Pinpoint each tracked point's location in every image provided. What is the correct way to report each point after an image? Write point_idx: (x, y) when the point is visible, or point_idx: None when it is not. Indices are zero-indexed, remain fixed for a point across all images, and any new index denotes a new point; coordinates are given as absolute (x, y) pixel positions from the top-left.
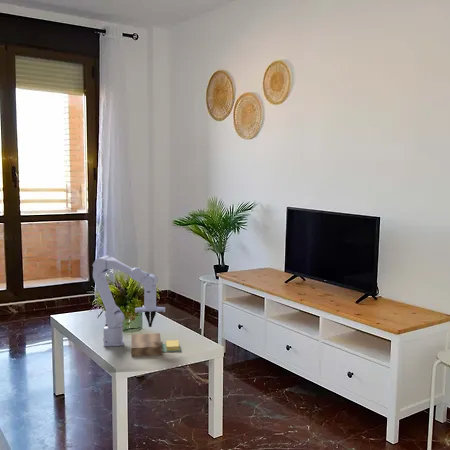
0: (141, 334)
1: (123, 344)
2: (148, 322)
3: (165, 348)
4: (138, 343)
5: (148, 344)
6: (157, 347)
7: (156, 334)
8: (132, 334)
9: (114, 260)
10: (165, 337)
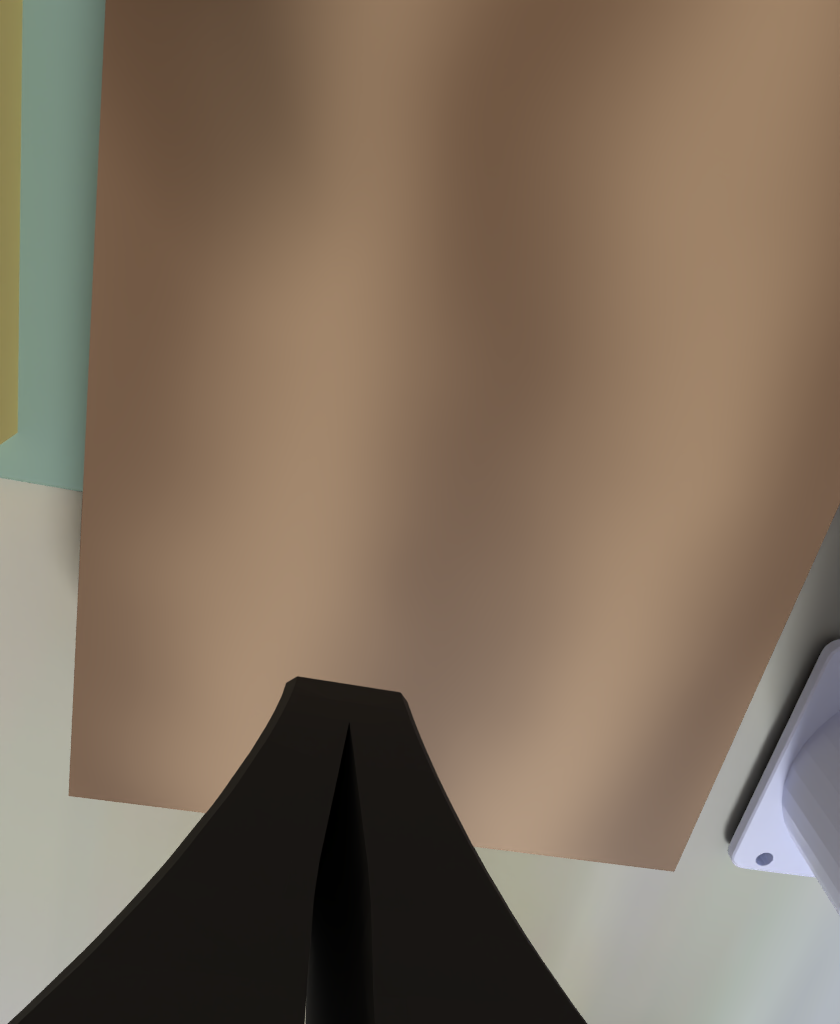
0: (485, 824)
1: (813, 672)
2: (445, 822)
3: (44, 164)
4: (764, 225)
5: (525, 7)
6: None
7: (156, 746)
8: (661, 865)
9: None
10: (2, 819)
